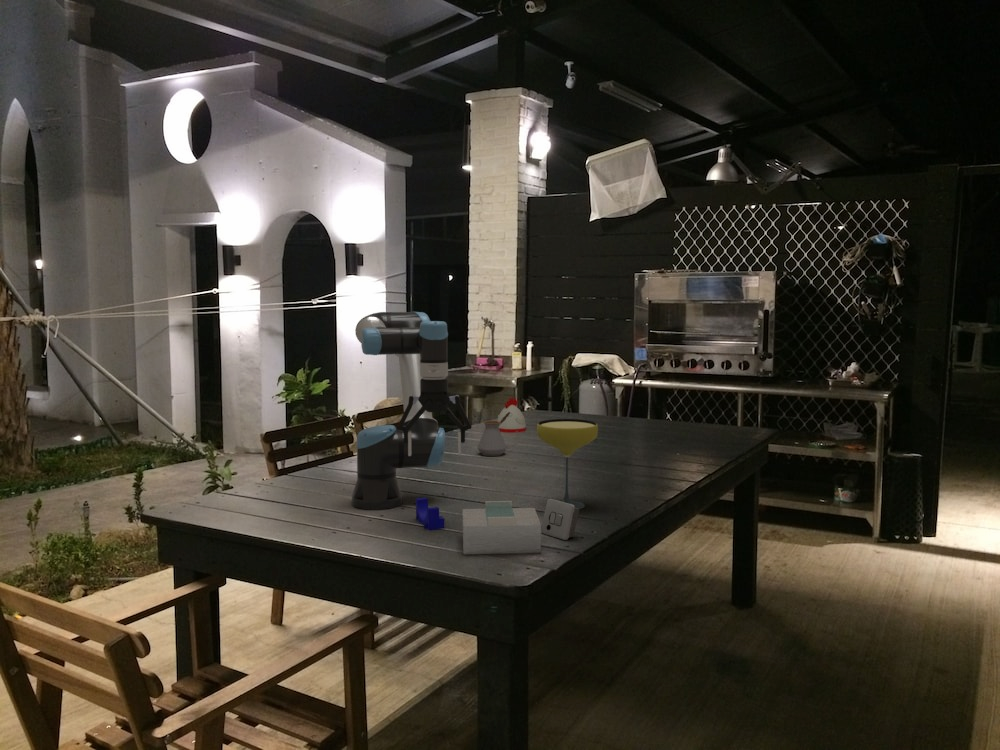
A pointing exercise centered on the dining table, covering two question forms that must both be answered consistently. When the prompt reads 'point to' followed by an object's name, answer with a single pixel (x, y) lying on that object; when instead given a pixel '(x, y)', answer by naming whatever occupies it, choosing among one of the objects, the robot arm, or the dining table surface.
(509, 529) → the white boxy block
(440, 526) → the blue stepped piece
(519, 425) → the kitchen timer
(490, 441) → the coffee pot
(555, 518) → the electrical switch
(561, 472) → the dining table surface
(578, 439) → the cocktail glass
